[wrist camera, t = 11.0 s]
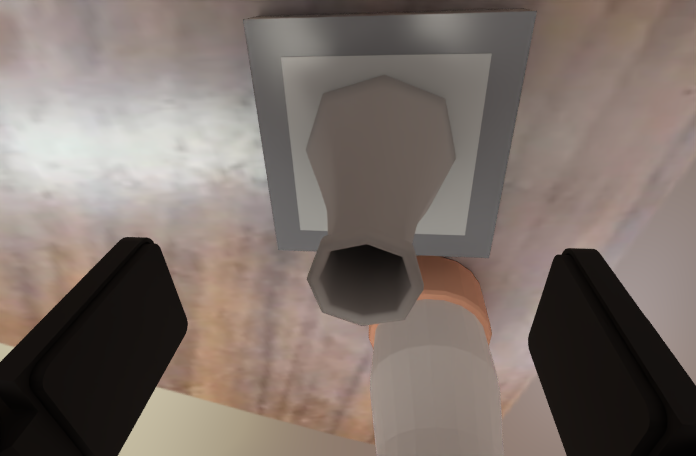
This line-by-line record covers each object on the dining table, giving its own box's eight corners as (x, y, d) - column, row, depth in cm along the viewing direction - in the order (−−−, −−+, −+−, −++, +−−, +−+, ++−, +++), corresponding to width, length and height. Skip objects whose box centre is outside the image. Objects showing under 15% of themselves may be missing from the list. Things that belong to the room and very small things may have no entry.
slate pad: (257, 16, 18) (242, 19, 17) (523, 8, 17) (537, 11, 15) (286, 231, 25) (277, 250, 23) (482, 238, 23) (489, 259, 22)
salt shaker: (382, 245, 25) (350, 750, 8) (498, 266, 24) (691, 822, 8) (363, 326, 28) (315, 778, 12) (462, 345, 28) (546, 826, 12)
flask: (469, 76, 17) (538, 169, 8) (444, 220, 21) (475, 383, 12) (303, 70, 18) (214, 151, 9) (309, 211, 21) (250, 360, 13)
